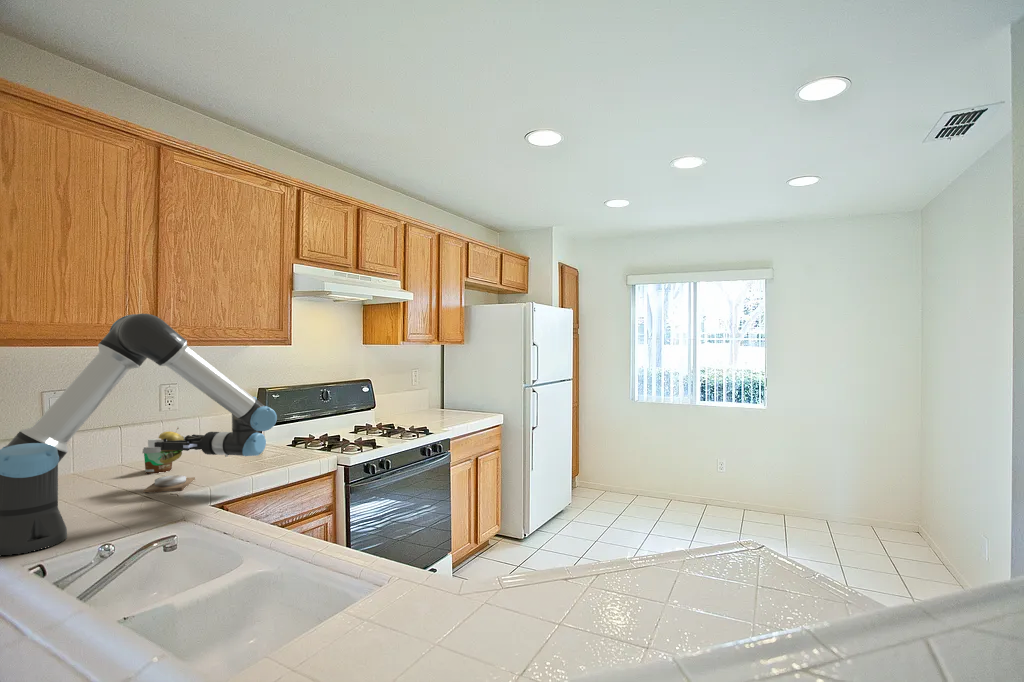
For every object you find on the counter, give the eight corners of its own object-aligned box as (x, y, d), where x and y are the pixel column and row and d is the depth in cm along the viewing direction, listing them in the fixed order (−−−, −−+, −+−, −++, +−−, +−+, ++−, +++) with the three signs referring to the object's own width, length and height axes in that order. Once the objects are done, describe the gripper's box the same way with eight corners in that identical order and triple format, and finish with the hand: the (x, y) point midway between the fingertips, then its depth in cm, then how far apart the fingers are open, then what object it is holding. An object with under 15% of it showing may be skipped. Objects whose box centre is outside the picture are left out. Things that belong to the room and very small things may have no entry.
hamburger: (155, 462, 182) (155, 427, 182) (179, 458, 188) (179, 424, 188) (162, 466, 177) (162, 429, 177) (187, 462, 183) (186, 426, 182)
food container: (156, 475, 197) (156, 448, 197) (142, 474, 198) (142, 447, 198) (183, 468, 209) (183, 442, 209) (169, 467, 210) (169, 441, 210)
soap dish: (143, 493, 174) (143, 484, 174) (159, 482, 187) (159, 474, 188) (181, 490, 177) (181, 482, 177) (195, 480, 190) (195, 472, 190)
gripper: (196, 461, 169) (133, 458, 173) (239, 448, 189) (181, 446, 193) (196, 437, 169) (133, 435, 173) (238, 427, 189) (181, 425, 193)
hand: (158, 441), depth 183 cm, fingers closed on hamburger, 7 cm apart
